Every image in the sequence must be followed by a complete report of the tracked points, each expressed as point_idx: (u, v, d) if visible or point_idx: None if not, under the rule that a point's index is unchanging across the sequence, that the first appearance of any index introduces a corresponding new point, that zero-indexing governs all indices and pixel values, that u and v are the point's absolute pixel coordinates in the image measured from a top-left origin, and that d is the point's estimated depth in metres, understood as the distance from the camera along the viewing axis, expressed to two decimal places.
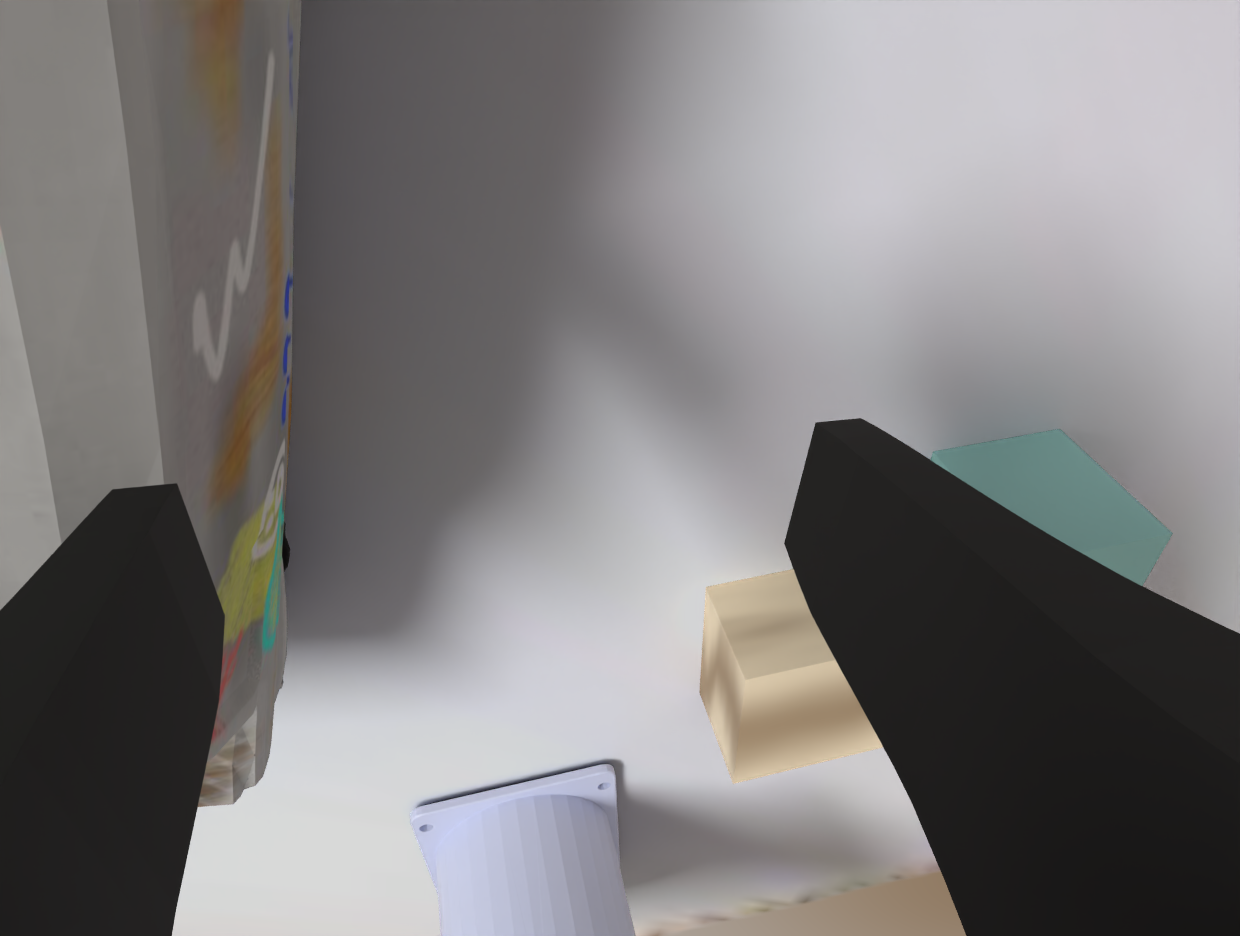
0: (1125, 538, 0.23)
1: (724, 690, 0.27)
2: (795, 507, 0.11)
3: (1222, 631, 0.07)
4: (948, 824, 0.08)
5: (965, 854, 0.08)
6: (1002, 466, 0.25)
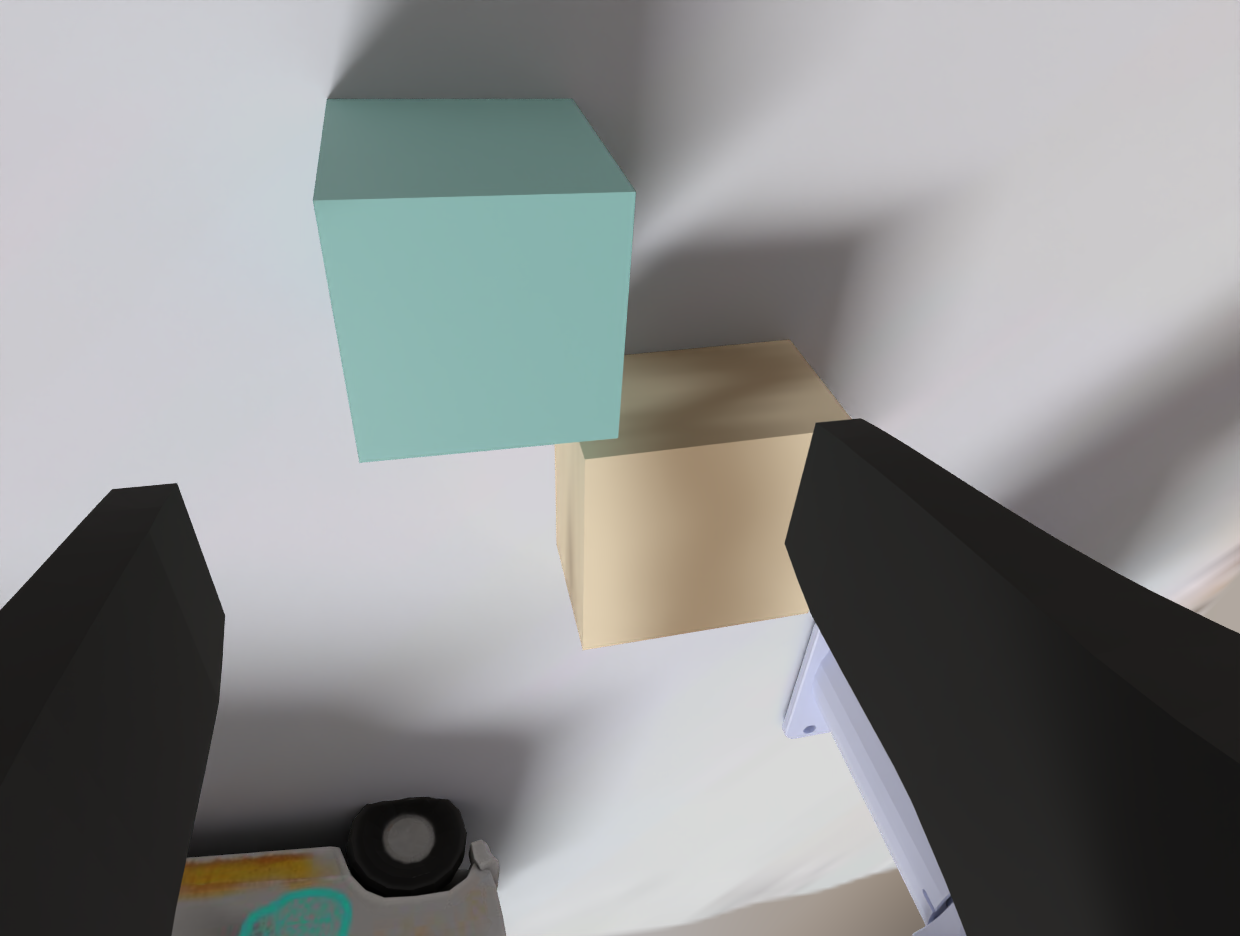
0: None
1: None
2: (795, 507, 0.11)
3: (1225, 631, 0.07)
4: (948, 824, 0.08)
5: (965, 854, 0.08)
6: None
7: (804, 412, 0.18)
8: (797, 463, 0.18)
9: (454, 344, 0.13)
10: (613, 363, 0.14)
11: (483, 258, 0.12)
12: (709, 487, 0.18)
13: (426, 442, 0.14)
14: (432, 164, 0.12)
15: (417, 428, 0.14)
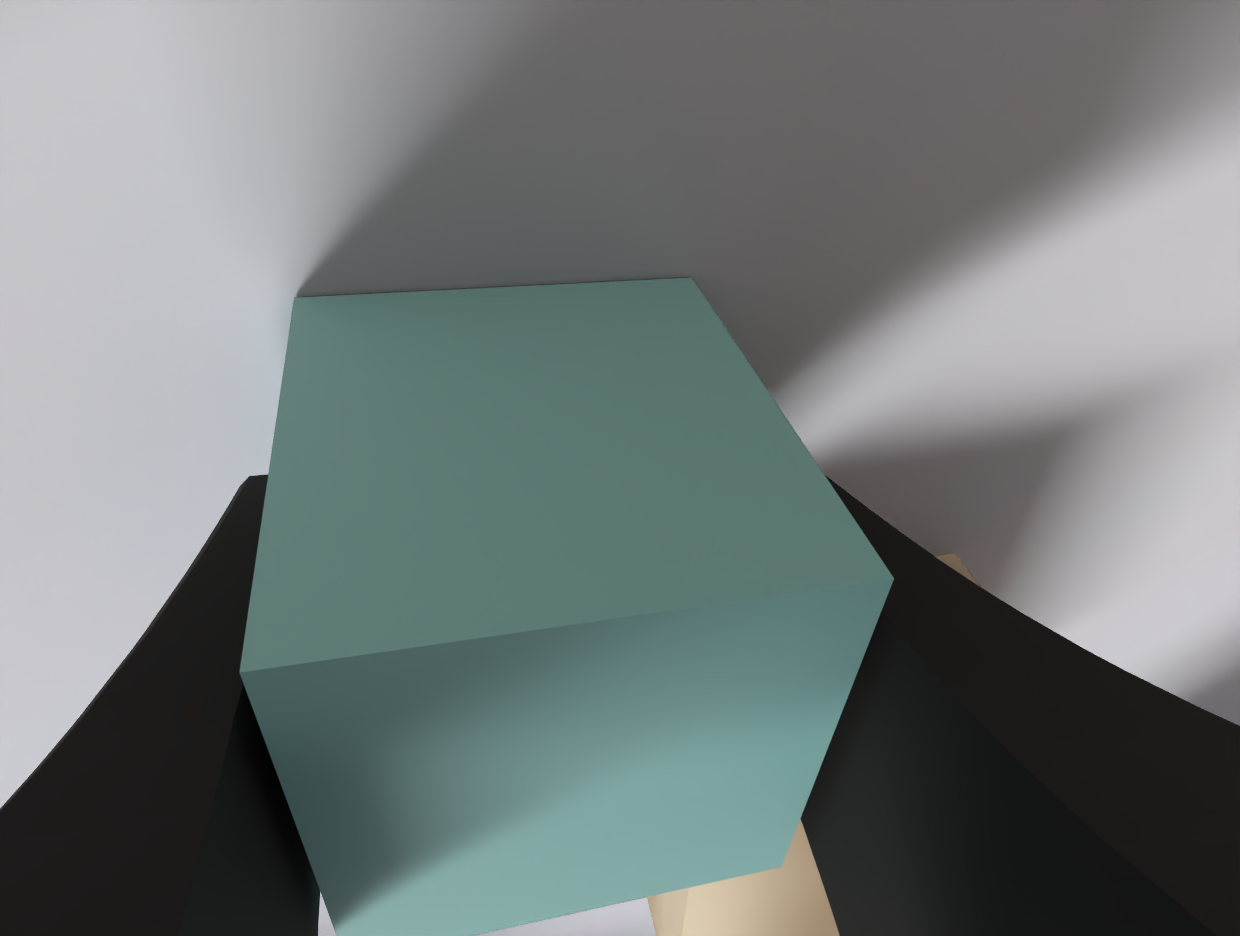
0: None
1: None
2: None
3: (1089, 654, 0.06)
4: (832, 850, 0.08)
5: (846, 882, 0.08)
6: None
7: None
8: None
9: (523, 814, 0.07)
10: (794, 791, 0.08)
11: (589, 704, 0.06)
12: None
13: (464, 924, 0.08)
14: (486, 499, 0.06)
15: (449, 912, 0.08)
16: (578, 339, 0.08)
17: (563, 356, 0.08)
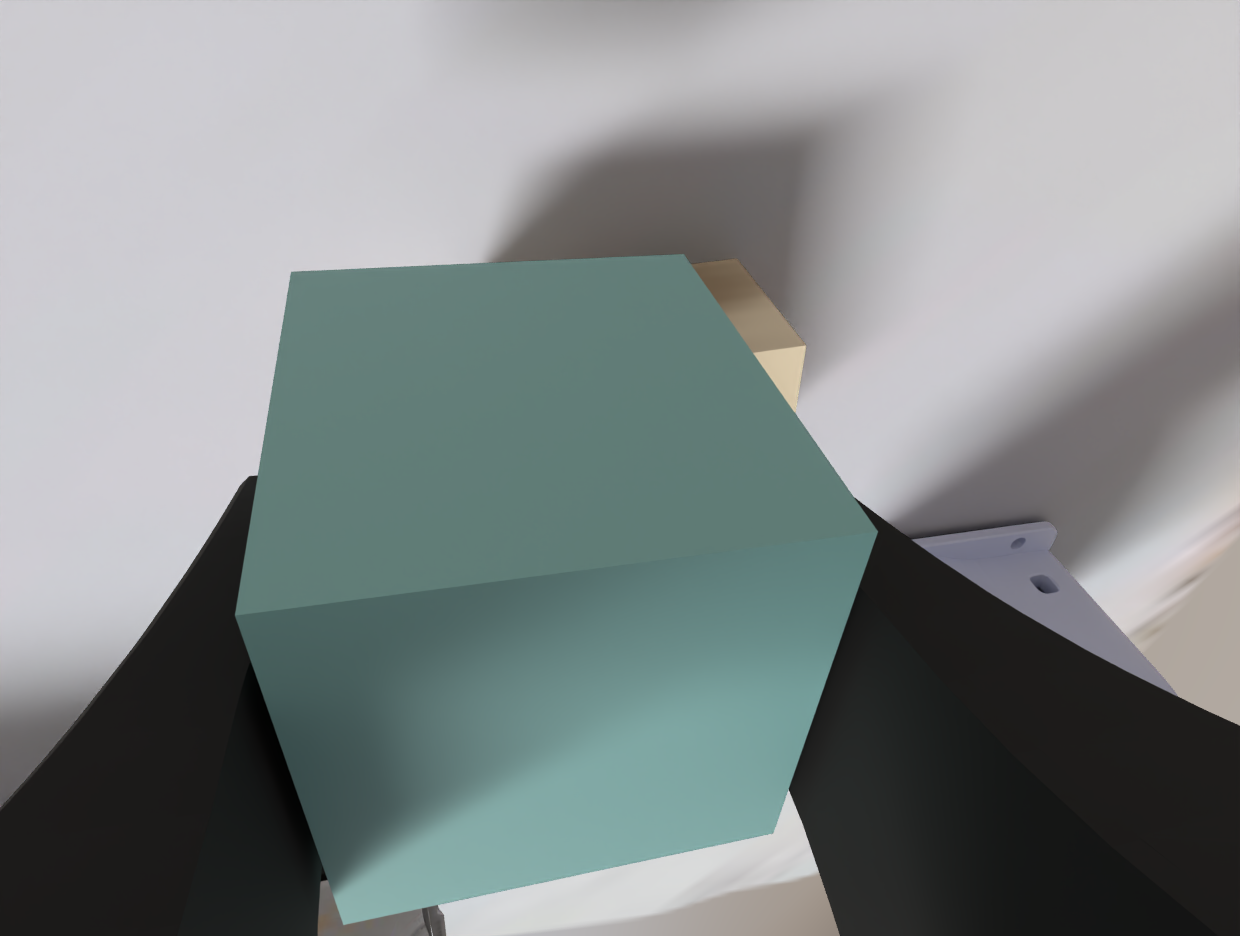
0: None
1: None
2: None
3: (1089, 655, 0.06)
4: (832, 849, 0.08)
5: (846, 881, 0.08)
6: None
7: (746, 331, 0.16)
8: None
9: (515, 770, 0.07)
10: (785, 754, 0.08)
11: (580, 656, 0.06)
12: None
13: (459, 886, 0.08)
14: (478, 459, 0.07)
15: (444, 873, 0.08)
16: (570, 311, 0.09)
17: (555, 327, 0.08)
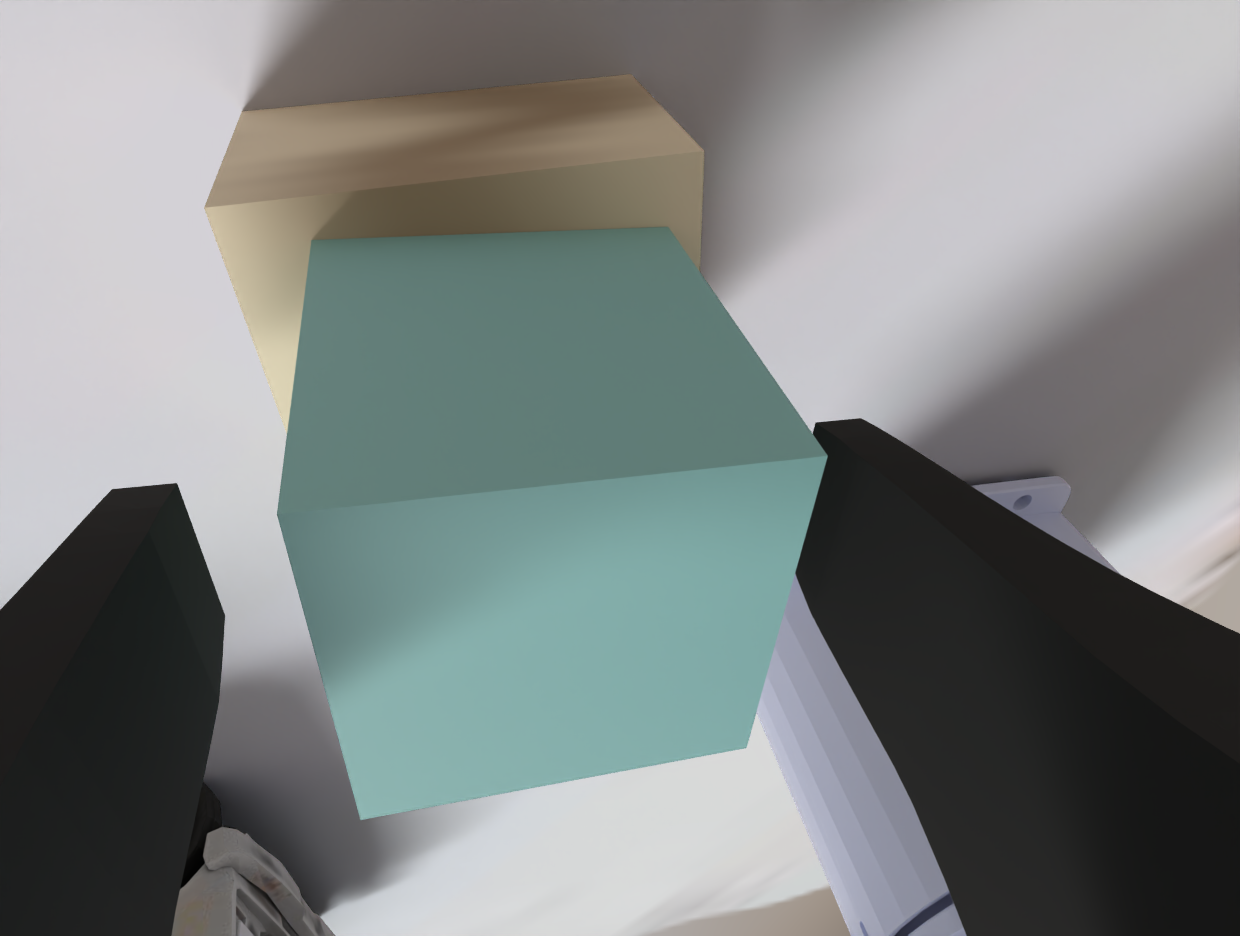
0: None
1: None
2: None
3: (1224, 629, 0.07)
4: (948, 824, 0.08)
5: (965, 854, 0.08)
6: None
7: (620, 140, 0.11)
8: (610, 224, 0.11)
9: (514, 673, 0.08)
10: (754, 668, 0.09)
11: (568, 565, 0.07)
12: None
13: (463, 786, 0.09)
14: (481, 396, 0.07)
15: (450, 773, 0.09)
16: (564, 275, 0.10)
17: (550, 288, 0.09)
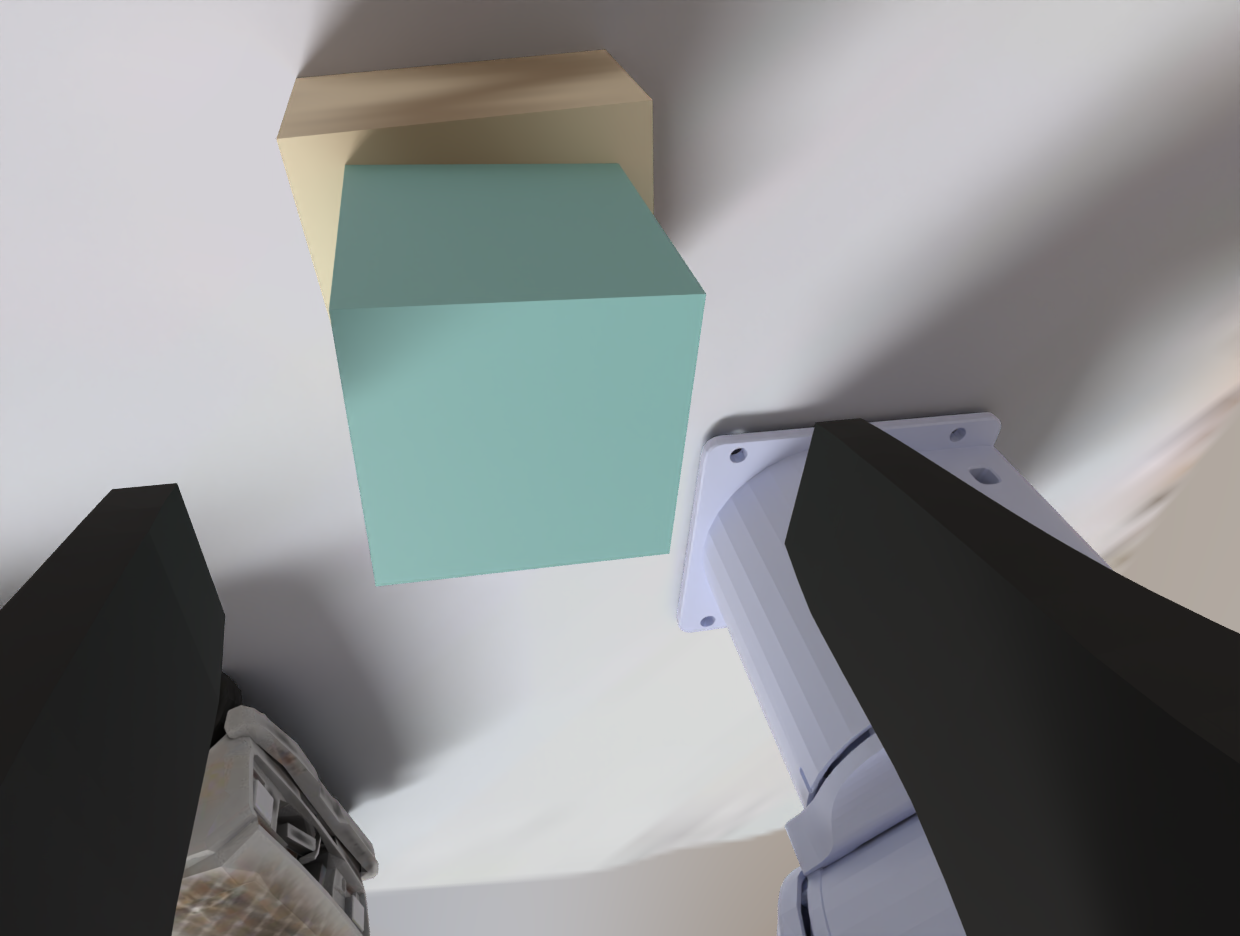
0: None
1: None
2: (795, 507, 0.11)
3: (1224, 631, 0.07)
4: (948, 824, 0.08)
5: (965, 854, 0.08)
6: None
7: (589, 93, 0.14)
8: (581, 157, 0.14)
9: (489, 460, 0.11)
10: (668, 476, 0.12)
11: (526, 369, 0.10)
12: None
13: (452, 563, 0.12)
14: (467, 256, 0.11)
15: (443, 549, 0.12)
16: (534, 190, 0.13)
17: (523, 198, 0.12)
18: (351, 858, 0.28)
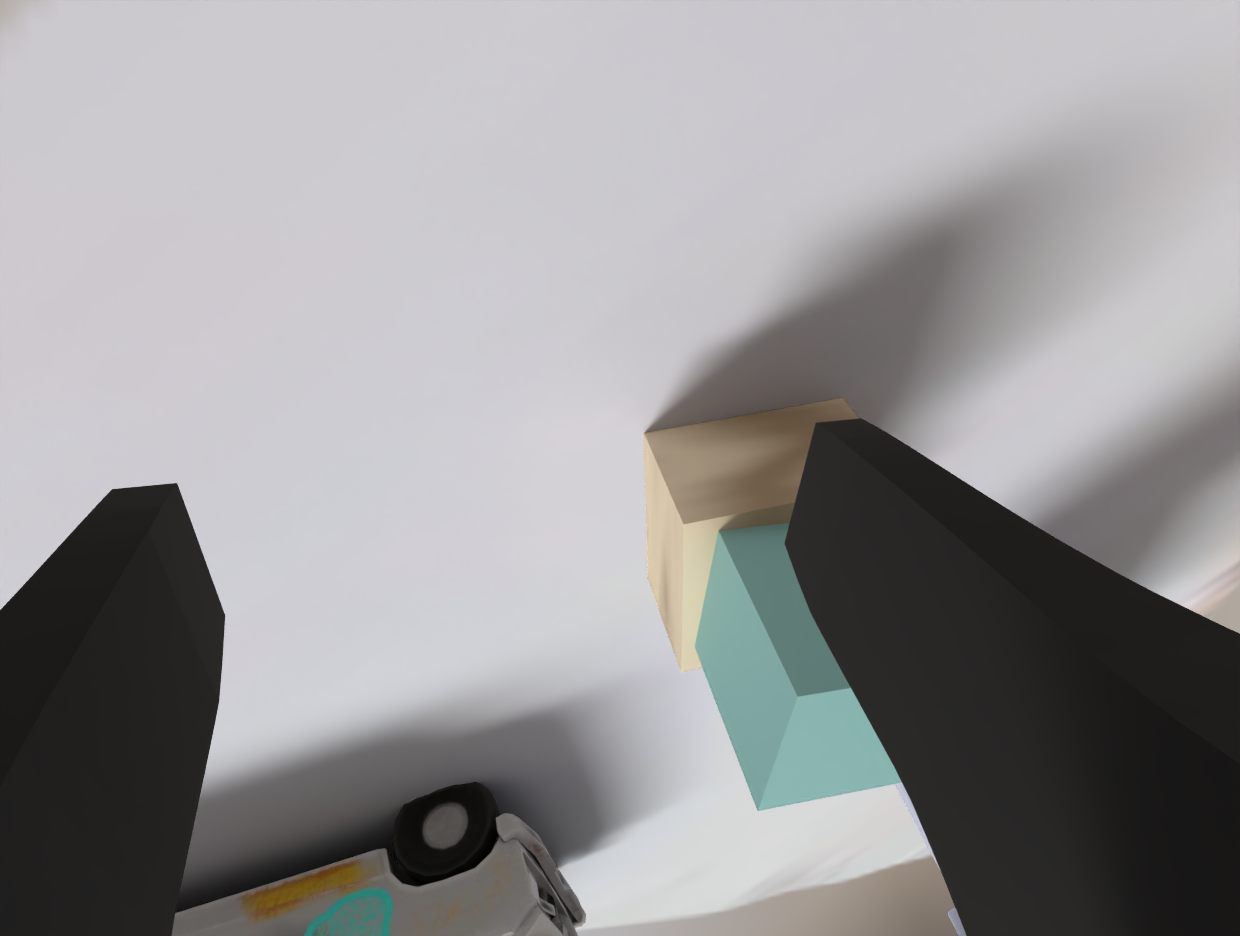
0: (781, 728, 0.18)
1: None
2: (795, 507, 0.11)
3: (1225, 631, 0.07)
4: (948, 824, 0.08)
5: (965, 854, 0.08)
6: (717, 643, 0.21)
7: None
8: None
9: (846, 747, 0.18)
10: None
11: None
12: None
13: (804, 795, 0.20)
14: None
15: (802, 789, 0.19)
16: None
17: None
18: (567, 913, 0.36)
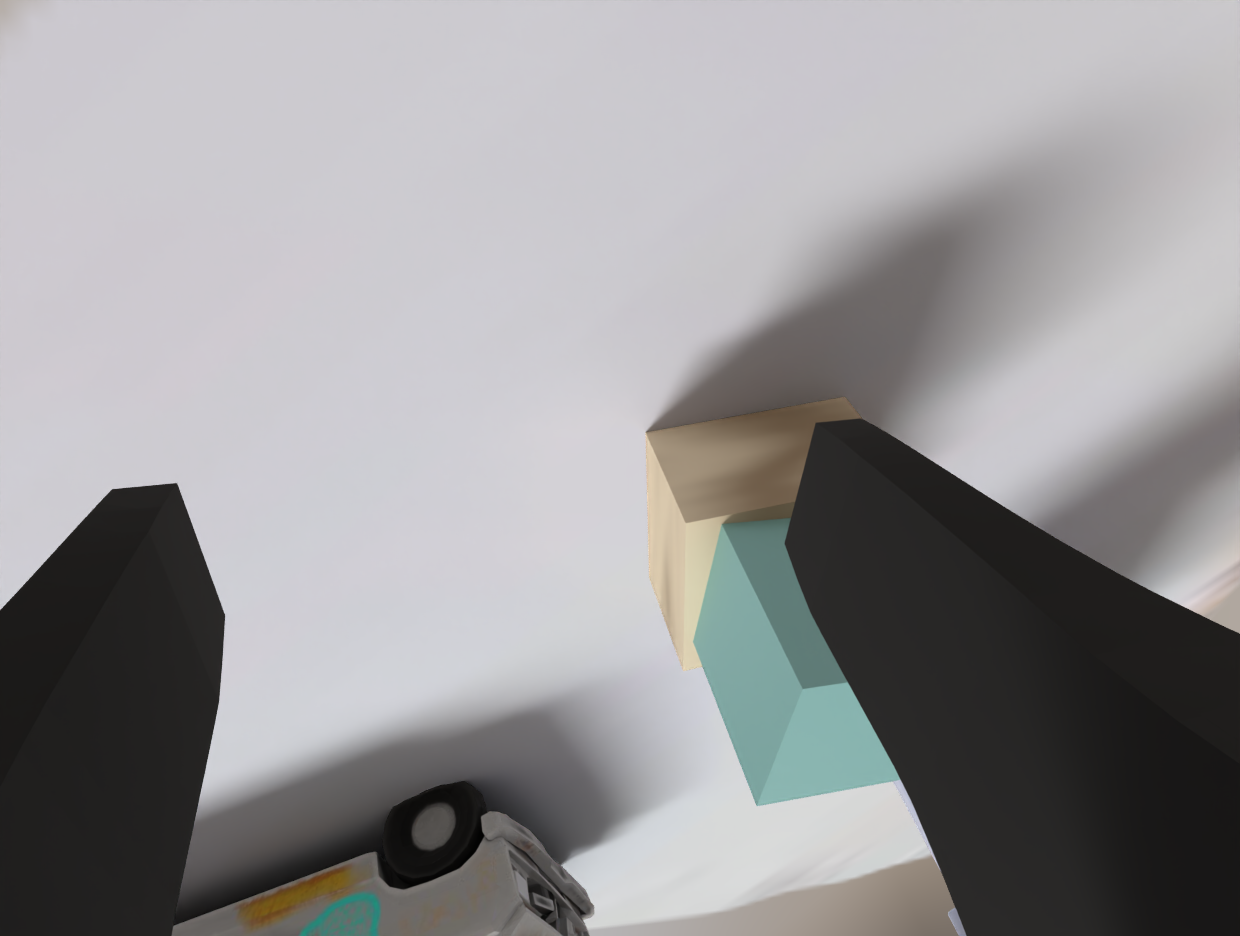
0: (784, 722, 0.17)
1: None
2: (795, 507, 0.11)
3: (1225, 631, 0.07)
4: (948, 824, 0.08)
5: (965, 854, 0.08)
6: (717, 637, 0.21)
7: None
8: None
9: (847, 742, 0.18)
10: None
11: None
12: None
13: (803, 791, 0.19)
14: None
15: (801, 785, 0.19)
16: None
17: None
18: (574, 905, 0.35)
